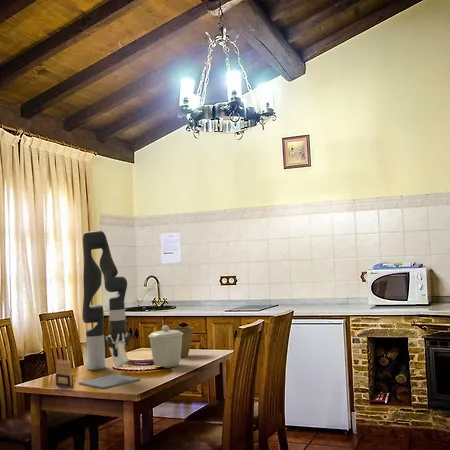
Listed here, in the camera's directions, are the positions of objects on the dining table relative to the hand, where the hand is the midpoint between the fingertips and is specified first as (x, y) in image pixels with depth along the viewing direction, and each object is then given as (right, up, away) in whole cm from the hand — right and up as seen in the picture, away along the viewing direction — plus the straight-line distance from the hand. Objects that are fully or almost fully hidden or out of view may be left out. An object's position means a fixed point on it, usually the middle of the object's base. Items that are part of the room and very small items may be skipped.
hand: (119, 355), depth 259 cm
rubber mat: (-3, -11, -5) cm, 12 cm away
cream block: (+2, -3, -2) cm, 4 cm away
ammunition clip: (-24, -12, -7) cm, 28 cm away
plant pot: (+25, -14, +55) cm, 62 cm away
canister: (+20, -12, +27) cm, 35 cm away
